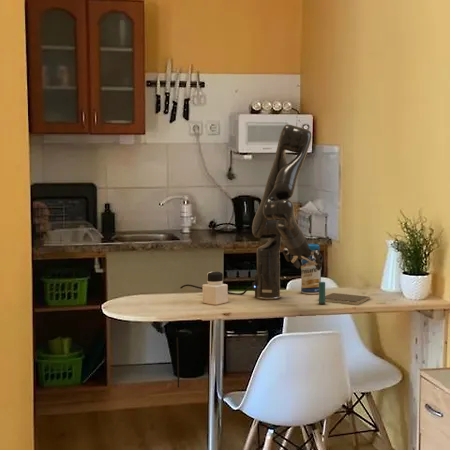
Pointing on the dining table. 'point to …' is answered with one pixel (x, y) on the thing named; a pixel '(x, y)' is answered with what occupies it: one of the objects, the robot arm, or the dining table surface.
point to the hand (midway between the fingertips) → (309, 267)
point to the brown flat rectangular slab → (346, 298)
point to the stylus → (321, 293)
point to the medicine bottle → (215, 289)
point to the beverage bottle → (310, 275)
